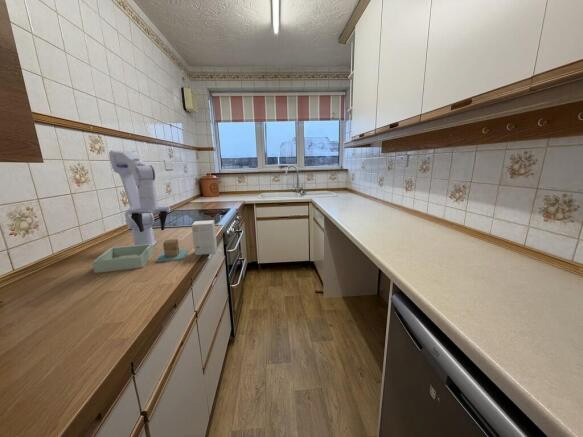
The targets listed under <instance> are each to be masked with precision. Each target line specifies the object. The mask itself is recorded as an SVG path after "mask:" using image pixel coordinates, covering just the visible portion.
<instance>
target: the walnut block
mask: <svg viewBox="0 0 583 437" xmlns="http://www.w3.org/2000/svg"><path fill="white" fill-rule="evenodd" d="M162 246H163V252H164V254H165V258H168V257H177V256H178V254H179V250H180V248H179V247H180V246H179V239H178V238H173V239H165V240H164V241H163V243H162Z"/></svg>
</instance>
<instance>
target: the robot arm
mask: <svg viewBox="0 0 583 437" xmlns="http://www.w3.org/2000/svg"><path fill="white" fill-rule="evenodd" d="M108 156H109V161H110V164H111V167H112V169H113V172H114V173H116V174H118V175H119V178H120V180H121V183H122V185H123V188H124V191H125V195H126V197H127V202H128V205H129V208H128V209H127V210H126V211H125V213H124V217H125V223H126V226H127V228H129V230H131V231H132V232H131V233H132V237H133V238H132V239H133V245H145V244H153V247H154V246H155V244H157V242H158V241H157V240H155V234H154V229H153V225H154V223H155V217H154V214H155V213H158V219H159V221H160V229H161V231H164V230H165V229H166V228H165V225H166V221H167V217H168V214H169V213H170V212H171V207H170V206H158V202H157V197H156V190H155V182H154V181H155V180H156V173H155V172H156V171H155V168H154V167H153V165H146V163H144V161H142V160H141V159H140V158H139V154H138V153H137V151H136V150H113V149H112V150H111V149H110V150H109V154H108Z"/></svg>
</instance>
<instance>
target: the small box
mask: <svg viewBox="0 0 583 437" xmlns="http://www.w3.org/2000/svg"><path fill="white" fill-rule="evenodd" d="M191 230H192V232H191V233H192V239H193V248H194V255H195V256H200V255H201V256H202V255H214V254H216V251H217V249H218V244H217V234H216V232H217V231H216V224H215V220H214V219H212V220H211V219H210V220H195V221H194V222H193V223H192V224H191Z"/></svg>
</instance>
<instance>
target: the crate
mask: <svg viewBox="0 0 583 437" xmlns="http://www.w3.org/2000/svg"><path fill="white" fill-rule="evenodd" d="M154 254H155V252H154V246H153V244H145V245H135V244H133V245H127V246H125V245H124V246H115V247H110V248H109V249H107V250H106V251H105V252H104V253H102V254H101V255H99V256H98V257H97V258H95V259H94V260H93V261H91V263H92V266H93V273H95V274H98V273H105V272H114V271H122V270H123V271H124V270H131V269H139V268H140V269H141V268H143V267H144V266H145V265H146V264H147V263H148V262H149V260H150V259H151V257H152V256H153V255H154Z"/></svg>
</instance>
